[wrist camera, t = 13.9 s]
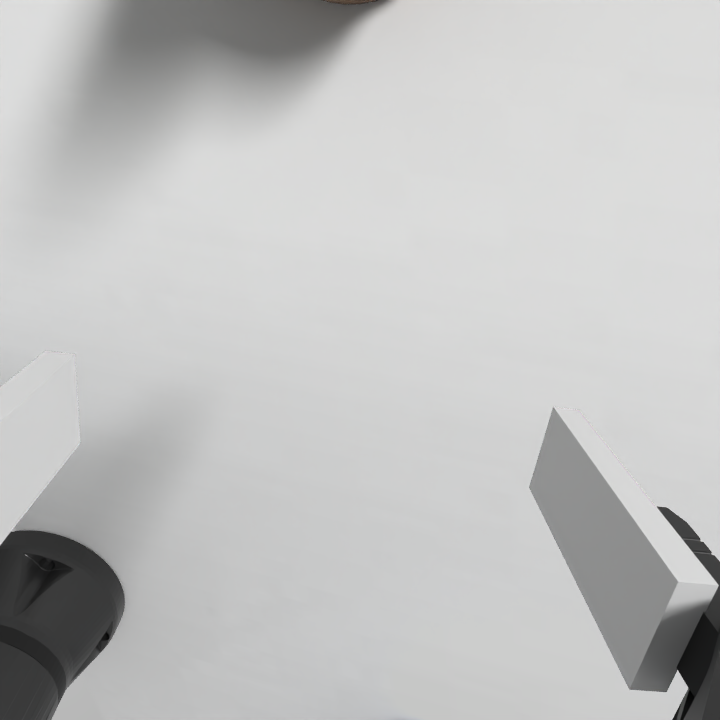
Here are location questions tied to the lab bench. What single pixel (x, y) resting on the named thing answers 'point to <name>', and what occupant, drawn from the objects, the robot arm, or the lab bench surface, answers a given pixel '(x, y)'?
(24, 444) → the robot arm
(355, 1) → the bobbin
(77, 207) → the lab bench surface
